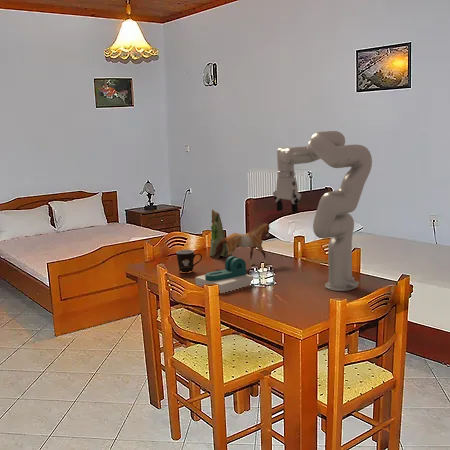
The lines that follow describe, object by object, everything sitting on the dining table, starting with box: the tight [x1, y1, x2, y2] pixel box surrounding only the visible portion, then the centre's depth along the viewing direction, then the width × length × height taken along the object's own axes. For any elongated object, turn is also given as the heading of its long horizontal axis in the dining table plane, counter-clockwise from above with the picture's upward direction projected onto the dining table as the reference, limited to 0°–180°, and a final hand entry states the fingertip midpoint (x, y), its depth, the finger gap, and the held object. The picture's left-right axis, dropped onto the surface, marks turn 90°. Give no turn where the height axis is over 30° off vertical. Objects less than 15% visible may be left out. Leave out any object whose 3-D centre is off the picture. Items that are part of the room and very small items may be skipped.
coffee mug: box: [175, 249, 203, 272], centre depth 270 cm, size 12×9×10 cm
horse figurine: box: [210, 222, 271, 266], centre depth 274 cm, size 31×8×21 cm, turn 105°
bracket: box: [204, 255, 247, 281], centre depth 243 cm, size 18×7×8 cm, turn 119°
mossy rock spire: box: [209, 209, 229, 258], centre depth 298 cm, size 11×12×25 cm
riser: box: [194, 273, 254, 294], centre depth 244 cm, size 18×18×4 cm
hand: (287, 211), depth 259 cm, fingers open, 9 cm apart
